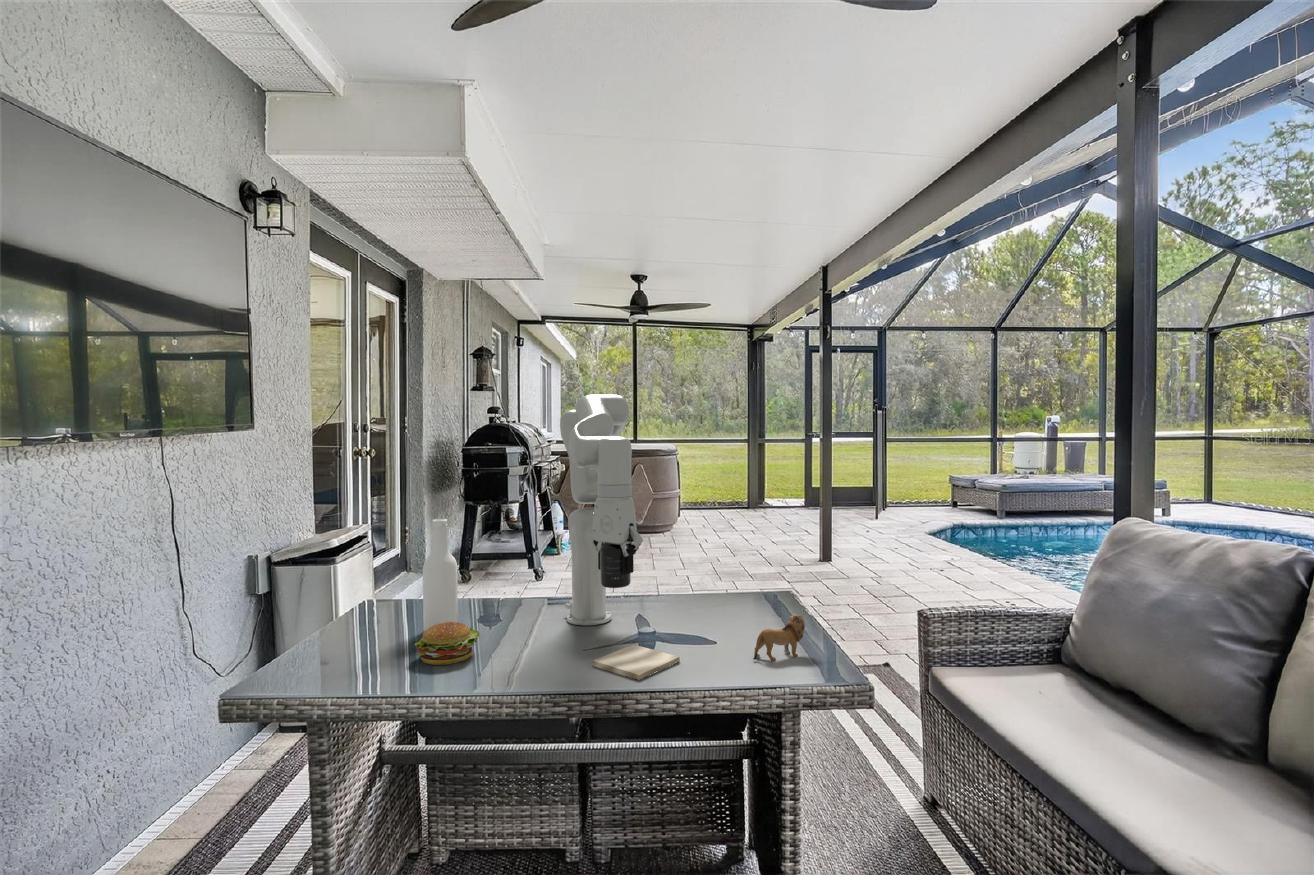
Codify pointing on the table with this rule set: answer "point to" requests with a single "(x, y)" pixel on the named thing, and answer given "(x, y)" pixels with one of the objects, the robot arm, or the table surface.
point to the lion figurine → (782, 637)
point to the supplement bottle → (612, 567)
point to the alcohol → (439, 580)
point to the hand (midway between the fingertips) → (615, 570)
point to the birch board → (635, 661)
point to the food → (446, 643)
